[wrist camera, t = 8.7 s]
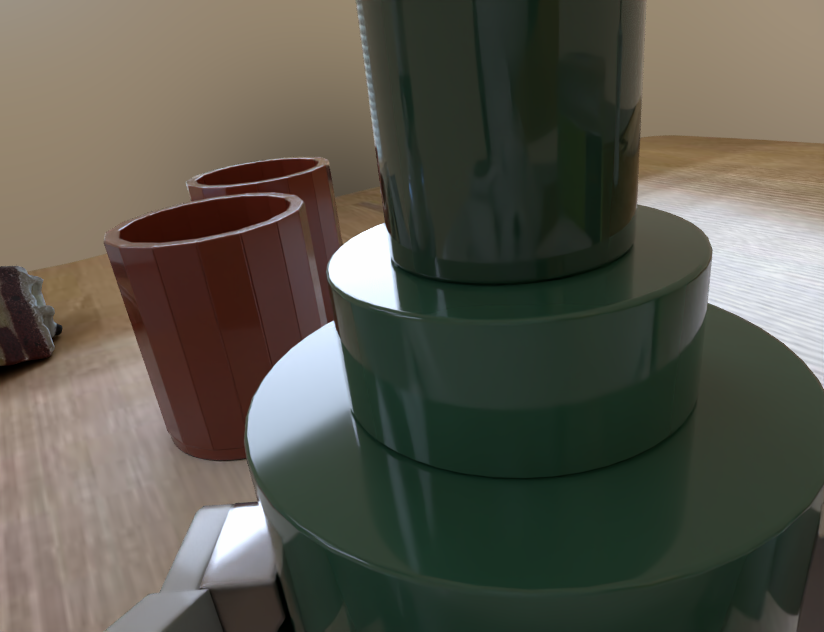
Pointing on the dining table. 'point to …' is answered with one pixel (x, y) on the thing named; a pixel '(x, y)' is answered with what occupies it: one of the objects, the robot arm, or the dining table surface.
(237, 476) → the dining table surface
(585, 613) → the bottle
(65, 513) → the dining table surface
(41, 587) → the dining table surface
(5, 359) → the checkered pouch
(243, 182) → the far cup
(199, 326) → the near cup
